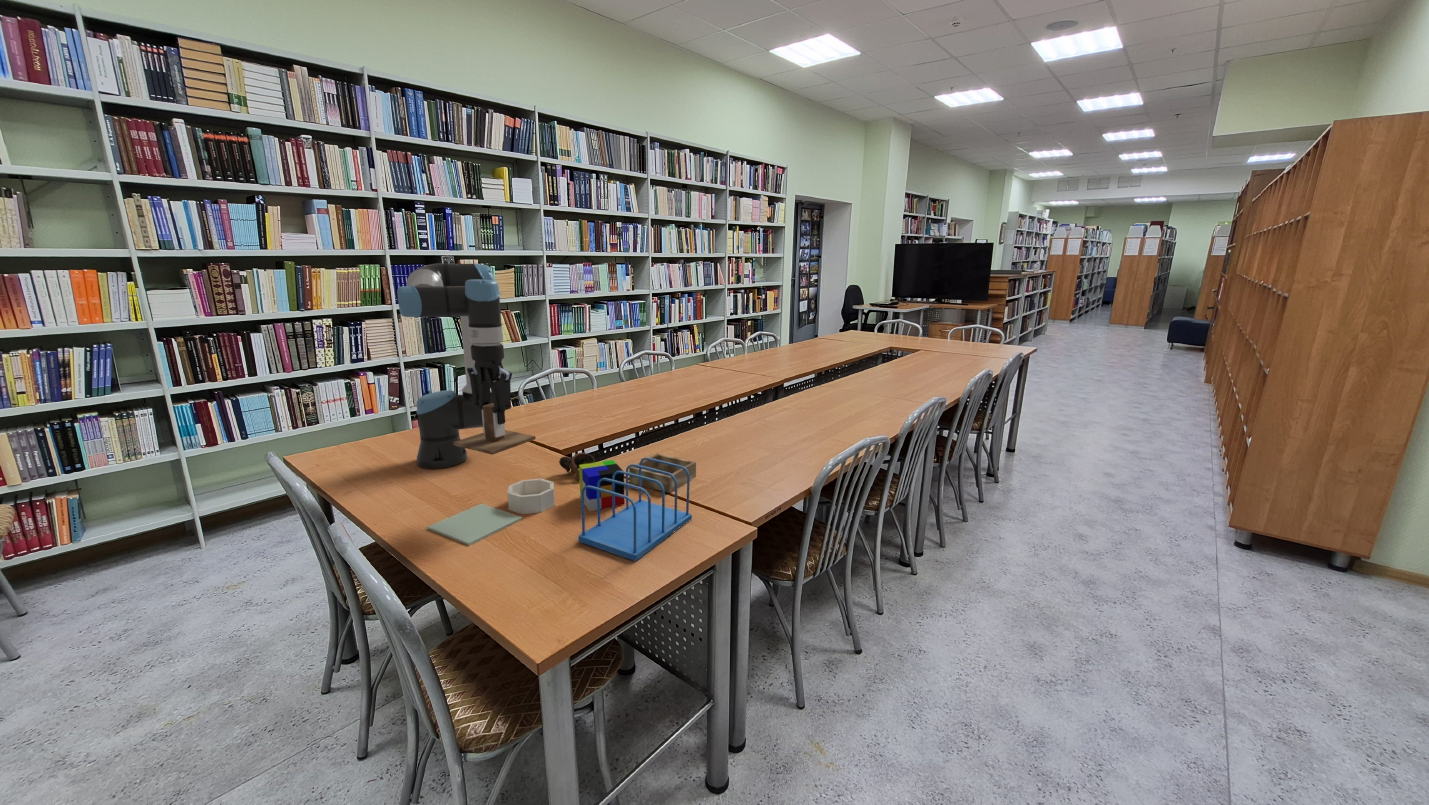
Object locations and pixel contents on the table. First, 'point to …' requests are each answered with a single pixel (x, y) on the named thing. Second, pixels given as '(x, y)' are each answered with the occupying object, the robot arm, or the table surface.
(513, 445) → the lid
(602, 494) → the puzzle toy
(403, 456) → the table surface
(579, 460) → the animal figurine
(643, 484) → the tray
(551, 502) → the bowl
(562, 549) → the table surface
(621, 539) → the file sorter
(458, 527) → the mat
